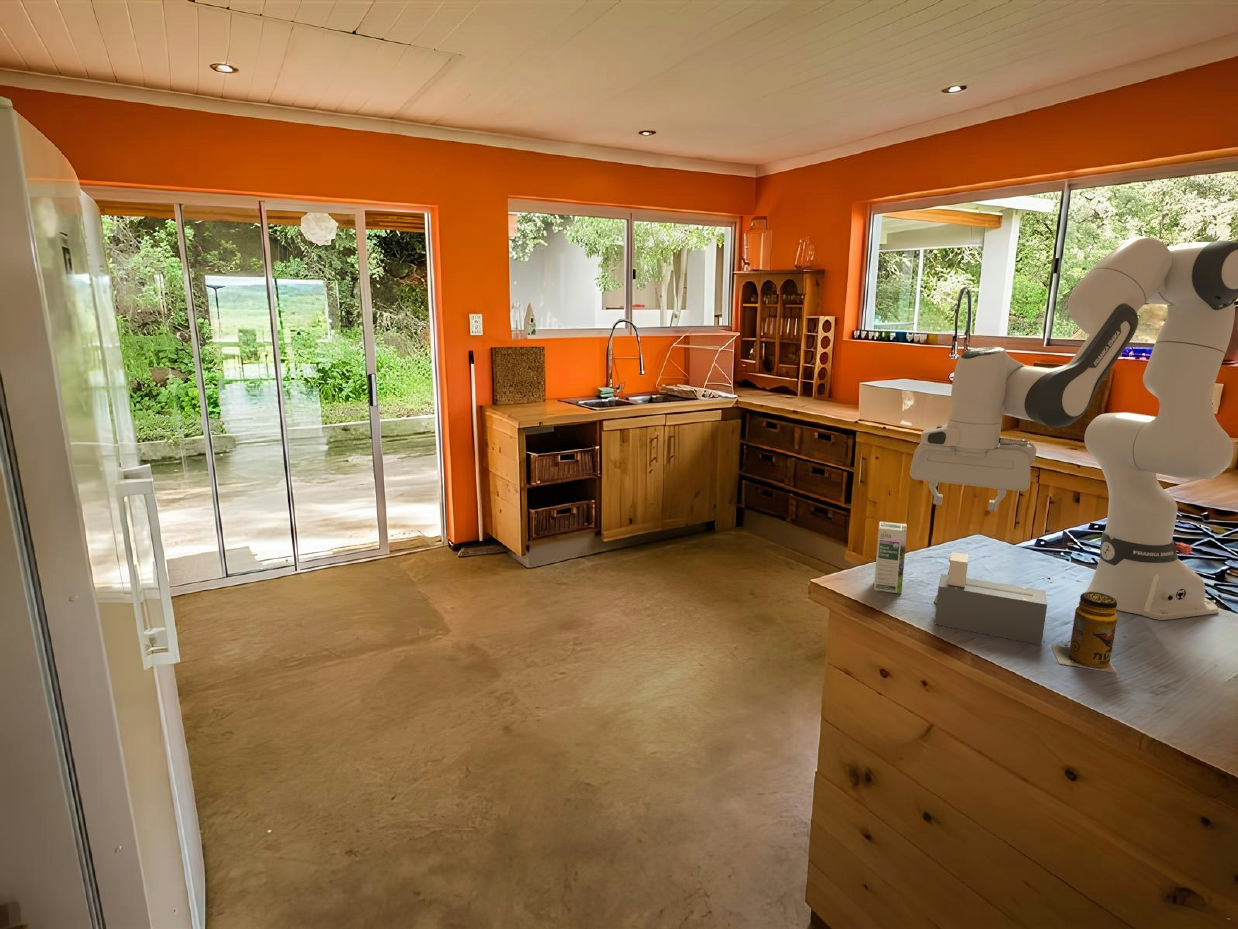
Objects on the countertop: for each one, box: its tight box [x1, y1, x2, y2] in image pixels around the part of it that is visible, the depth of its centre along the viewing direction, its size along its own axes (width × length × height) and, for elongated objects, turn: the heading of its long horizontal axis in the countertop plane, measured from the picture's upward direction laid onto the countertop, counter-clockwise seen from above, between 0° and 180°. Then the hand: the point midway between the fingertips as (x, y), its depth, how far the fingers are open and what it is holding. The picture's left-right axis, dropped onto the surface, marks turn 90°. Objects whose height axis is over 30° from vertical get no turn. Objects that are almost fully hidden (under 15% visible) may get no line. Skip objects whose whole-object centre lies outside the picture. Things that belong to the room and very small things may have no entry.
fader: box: [948, 551, 970, 587], centre depth 134 cm, size 3×5×5 cm, turn 151°
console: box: [934, 573, 1048, 646], centre depth 133 cm, size 18×7×8 cm, turn 61°
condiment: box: [1051, 591, 1118, 673], centre depth 120 cm, size 7×8×12 cm
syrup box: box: [873, 521, 908, 595], centre depth 151 cm, size 6×6×14 cm
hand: (964, 507), depth 131 cm, fingers open, 8 cm apart
